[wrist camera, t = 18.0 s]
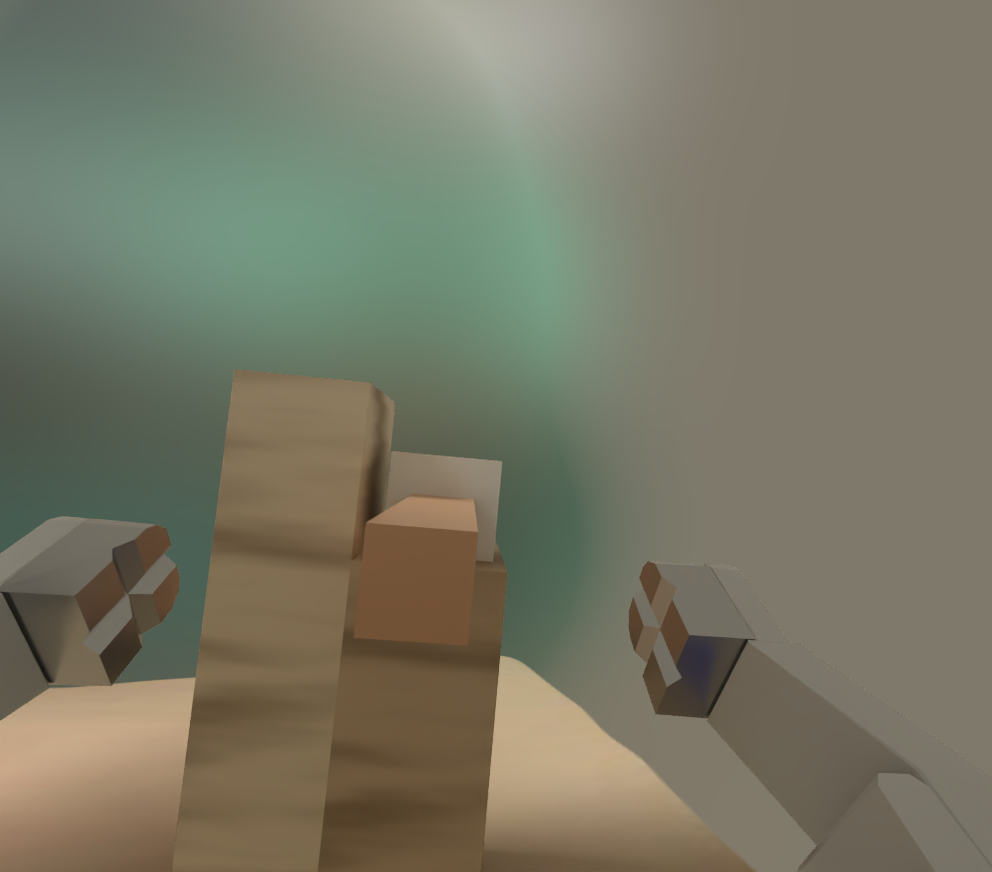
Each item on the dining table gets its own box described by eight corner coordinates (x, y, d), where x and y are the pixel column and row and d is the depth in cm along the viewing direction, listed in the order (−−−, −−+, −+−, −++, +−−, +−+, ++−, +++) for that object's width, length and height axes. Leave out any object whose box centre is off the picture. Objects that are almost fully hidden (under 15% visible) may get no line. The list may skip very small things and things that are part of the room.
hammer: (399, 533, 28) (407, 453, 29) (487, 540, 29) (495, 461, 29) (305, 634, 12) (326, 443, 12) (514, 649, 12) (530, 462, 13)
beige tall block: (470, 995, 20) (522, 398, 21) (156, 989, 19) (234, 369, 20) (469, 848, 27) (507, 414, 29) (244, 839, 26) (296, 393, 28)
